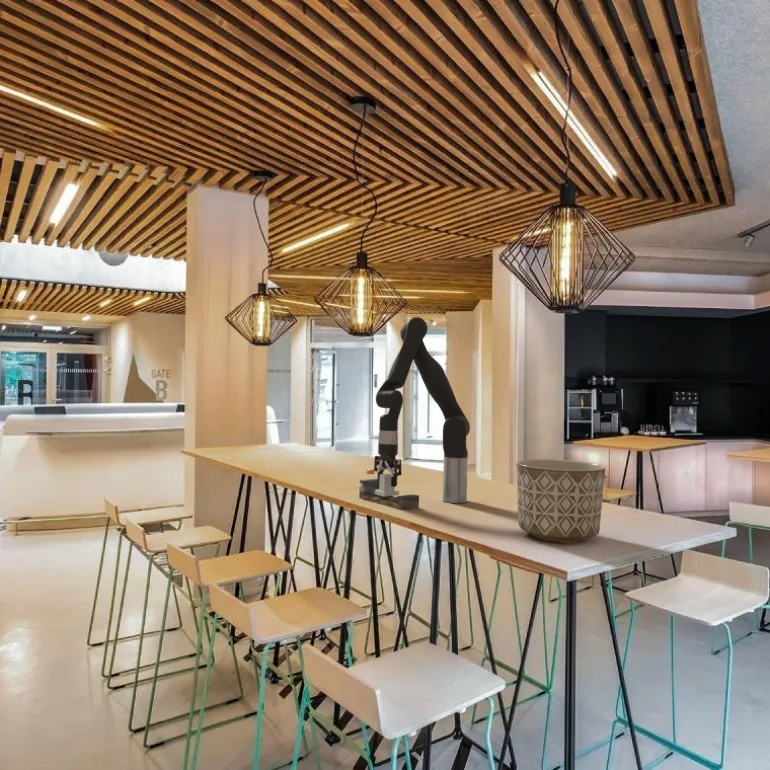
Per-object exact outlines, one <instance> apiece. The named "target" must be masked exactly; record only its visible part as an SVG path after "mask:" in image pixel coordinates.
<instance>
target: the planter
mask: <svg viewBox="0 0 770 770" xmlns="http://www.w3.org/2000/svg"><path fill="white" fill-rule="evenodd" d="M605 476H606V466H604V465H602V464H598V463H594V462H586V461H580V460H568V459H551V458H550V459H549V458H547V459H546V458H545V459H544V458H540V459H539V458H535V459H533V458H532V459H521V460H517V461H516V484H517V485H516V488H517V513H518V526H519V528H520V529H521V530H523V531H525V532H527V533H529V534H532V535H533V537H535V538H537V539H539V540H543V541H548V542H555V543H556V542H557V543H579V542H582V541H584V539H589V538H592V537H596V536H598V534H599V533H600V531H601V530H600V529H601V519H602V508H603V499H604V497H603V496H604V486H605V478H606V477H605Z"/></svg>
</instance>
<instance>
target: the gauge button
mask: <svg viewBox="0 0 770 770" xmlns="http://www.w3.org/2000/svg"><path fill="white" fill-rule="evenodd" d="M365 473H366V475H375V473H376V471H374V468H367V469H366V472H365Z"/></svg>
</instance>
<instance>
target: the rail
mask: <svg viewBox="0 0 770 770" xmlns="http://www.w3.org/2000/svg"><path fill="white" fill-rule="evenodd" d="M375 490H379V483H378V481H377V478H367V479H359V485H358V491H359V496H358V497H359V499H362V500H366V501H369V502H372V503H376V504H380V505H382V506H386V507H390V508H393V509H397V510H401V511H404V510H412V509H418V508H419V507H420V495H419V494H415V493H413V494H403V495H396V496H395V495H393V496H381V495H377V494H375Z"/></svg>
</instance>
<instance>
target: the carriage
mask: <svg viewBox="0 0 770 770" xmlns="http://www.w3.org/2000/svg"><path fill="white" fill-rule="evenodd" d="M391 477H392V476H391V473H383V474H381V475H380V483H379V490H375V494H377V495H381V496H400V491H399V490H396V489H395V487H392V486H391Z"/></svg>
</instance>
